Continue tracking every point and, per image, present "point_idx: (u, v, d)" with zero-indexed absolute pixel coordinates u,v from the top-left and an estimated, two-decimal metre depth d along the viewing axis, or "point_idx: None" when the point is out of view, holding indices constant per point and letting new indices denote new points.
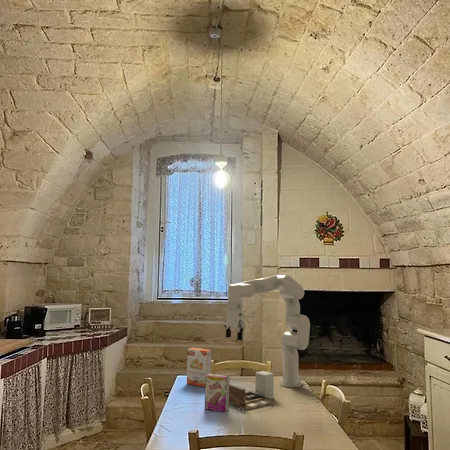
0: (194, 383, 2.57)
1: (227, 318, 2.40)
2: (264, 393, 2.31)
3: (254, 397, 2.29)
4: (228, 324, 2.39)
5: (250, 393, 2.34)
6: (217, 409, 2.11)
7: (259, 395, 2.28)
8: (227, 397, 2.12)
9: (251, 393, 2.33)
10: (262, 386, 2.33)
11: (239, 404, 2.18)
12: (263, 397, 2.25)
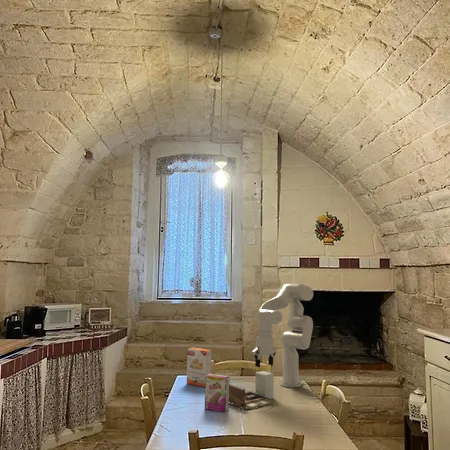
0: (194, 383, 2.57)
1: (263, 347, 2.34)
2: (264, 393, 2.31)
3: (254, 397, 2.29)
4: (264, 352, 2.34)
5: (250, 393, 2.34)
6: (217, 409, 2.11)
7: (259, 395, 2.28)
8: (227, 397, 2.12)
9: (251, 393, 2.33)
10: (262, 386, 2.33)
11: (239, 404, 2.18)
12: (263, 397, 2.25)
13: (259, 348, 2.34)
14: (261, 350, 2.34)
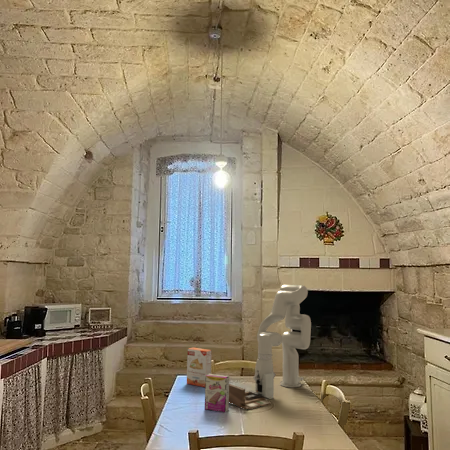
0: (194, 383, 2.57)
1: (263, 370, 2.33)
2: (264, 393, 2.31)
3: (254, 397, 2.29)
4: None
5: (250, 393, 2.34)
6: (217, 409, 2.11)
7: (259, 395, 2.28)
8: (227, 397, 2.12)
9: (251, 393, 2.33)
10: (262, 386, 2.33)
11: (239, 404, 2.18)
12: (263, 397, 2.25)
13: (259, 372, 2.33)
14: (261, 374, 2.32)
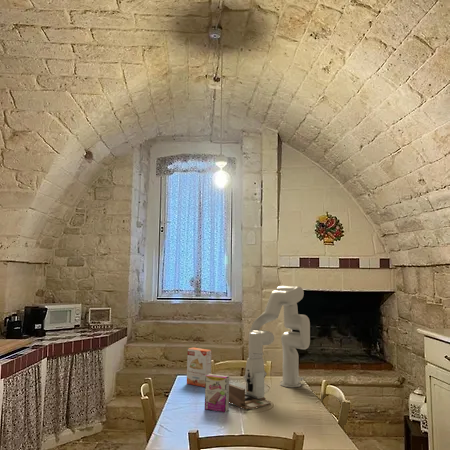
0: (194, 383, 2.57)
1: (253, 369, 2.29)
2: (254, 392, 2.27)
3: (247, 399, 2.26)
4: None
5: None
6: (217, 409, 2.11)
7: (252, 397, 2.25)
8: (227, 397, 2.12)
9: None
10: (253, 385, 2.29)
11: (239, 404, 2.18)
12: None
13: (249, 371, 2.29)
14: (251, 373, 2.28)
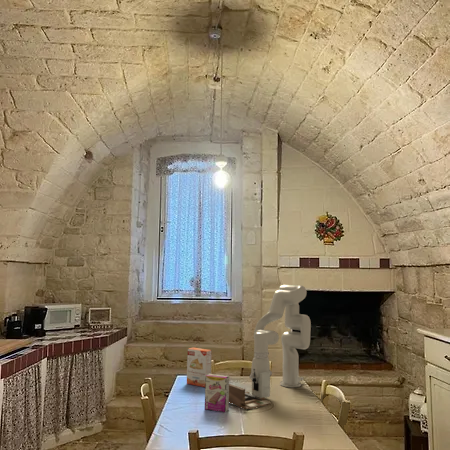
0: (194, 383, 2.57)
1: (259, 369, 2.32)
2: (260, 392, 2.30)
3: (247, 399, 2.26)
4: None
5: None
6: (217, 409, 2.11)
7: (252, 397, 2.25)
8: (227, 397, 2.12)
9: None
10: (259, 385, 2.31)
11: (239, 404, 2.18)
12: None
13: (255, 370, 2.31)
14: (257, 372, 2.31)
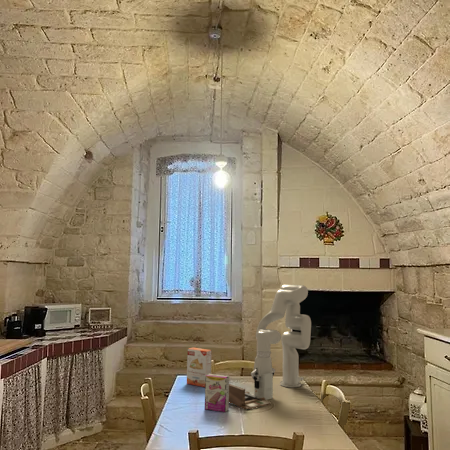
0: (194, 383, 2.57)
1: (261, 368, 2.33)
2: (263, 393, 2.31)
3: (247, 399, 2.26)
4: (262, 374, 2.33)
5: None
6: (217, 409, 2.11)
7: (252, 397, 2.25)
8: (227, 397, 2.12)
9: None
10: (261, 386, 2.32)
11: (239, 404, 2.18)
12: None
13: (258, 369, 2.32)
14: (260, 371, 2.32)
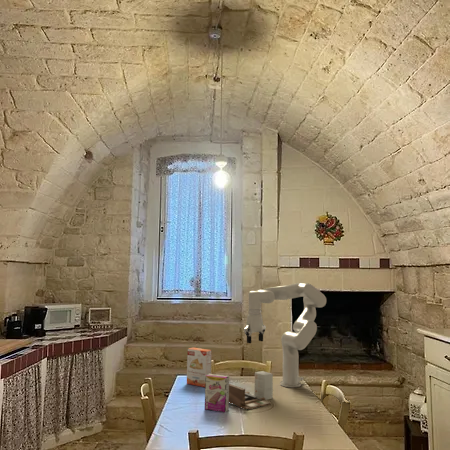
0: (194, 383, 2.57)
1: (253, 324, 2.50)
2: (263, 393, 2.31)
3: (247, 399, 2.26)
4: (254, 329, 2.50)
5: None
6: (217, 409, 2.11)
7: (252, 397, 2.25)
8: (227, 397, 2.12)
9: None
10: (261, 386, 2.32)
11: (239, 404, 2.18)
12: None
13: (250, 325, 2.50)
14: (252, 327, 2.49)
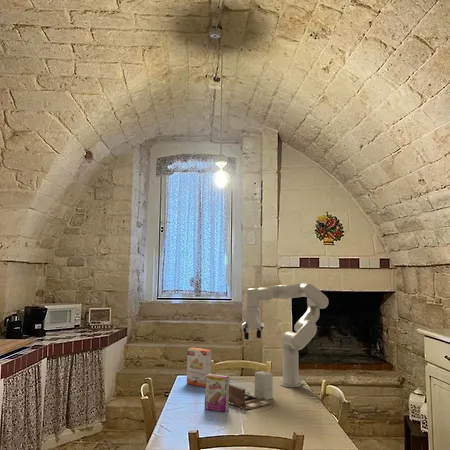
0: (194, 383, 2.57)
1: (251, 321, 2.54)
2: (263, 393, 2.31)
3: (247, 399, 2.26)
4: (252, 326, 2.54)
5: None
6: (217, 409, 2.11)
7: (252, 397, 2.25)
8: (227, 397, 2.12)
9: None
10: (261, 386, 2.32)
11: (239, 404, 2.18)
12: None
13: (247, 322, 2.54)
14: (249, 324, 2.53)
